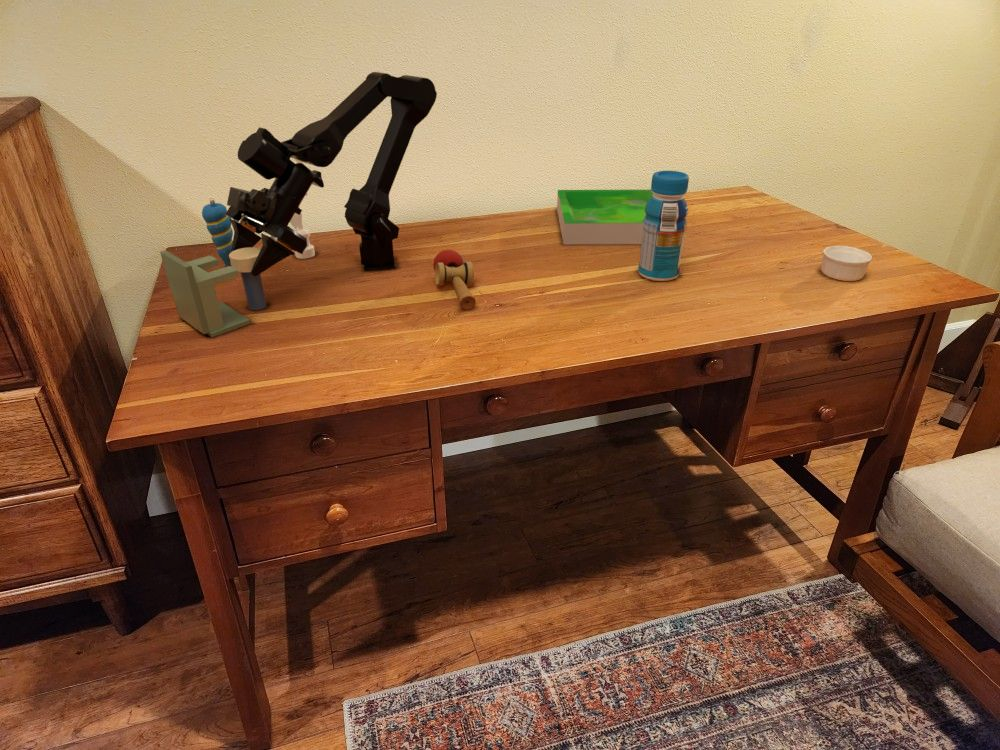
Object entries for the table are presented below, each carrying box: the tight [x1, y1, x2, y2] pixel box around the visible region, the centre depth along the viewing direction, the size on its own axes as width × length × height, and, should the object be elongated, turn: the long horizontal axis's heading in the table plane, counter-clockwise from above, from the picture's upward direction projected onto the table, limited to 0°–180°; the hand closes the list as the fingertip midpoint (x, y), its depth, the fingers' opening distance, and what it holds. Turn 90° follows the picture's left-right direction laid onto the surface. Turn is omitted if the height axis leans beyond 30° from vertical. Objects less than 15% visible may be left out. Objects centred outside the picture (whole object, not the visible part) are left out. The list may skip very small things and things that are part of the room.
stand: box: [159, 250, 252, 338], centre depth 116 cm, size 8×11×13 cm
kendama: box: [432, 249, 476, 311], centre depth 128 cm, size 8×6×18 cm
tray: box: [556, 189, 654, 245], centre depth 160 cm, size 25×25×5 cm
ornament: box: [201, 198, 234, 267], centre depth 136 cm, size 5×5×15 cm
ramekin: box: [820, 245, 873, 282], centre depth 134 cm, size 9×9×4 cm
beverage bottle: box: [637, 170, 690, 282], centre depth 130 cm, size 8×8×20 cm
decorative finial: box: [289, 135, 316, 260], centre depth 140 cm, size 6×4×25 cm
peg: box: [229, 246, 268, 311], centre depth 122 cm, size 6×6×10 cm
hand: (241, 269), depth 119 cm, fingers open, 8 cm apart
